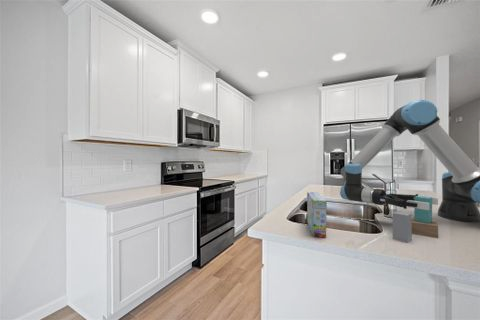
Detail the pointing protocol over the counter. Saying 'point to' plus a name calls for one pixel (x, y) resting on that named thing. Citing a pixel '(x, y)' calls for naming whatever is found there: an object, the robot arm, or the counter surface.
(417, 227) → the walnut block
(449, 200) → the robot arm
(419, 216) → the teal pillar
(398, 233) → the grey pillar
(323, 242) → the counter surface
